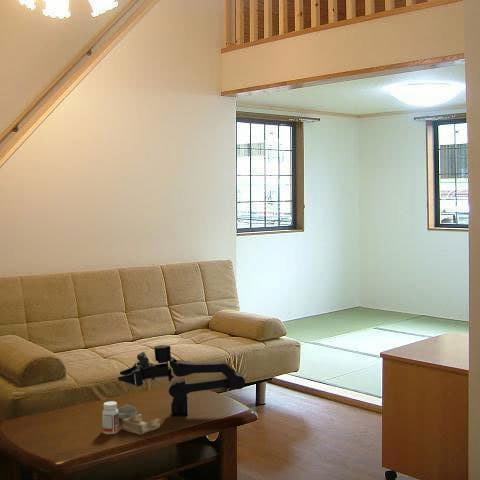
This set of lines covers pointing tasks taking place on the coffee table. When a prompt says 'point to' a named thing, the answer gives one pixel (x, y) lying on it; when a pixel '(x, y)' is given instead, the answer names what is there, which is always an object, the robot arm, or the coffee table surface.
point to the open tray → (139, 424)
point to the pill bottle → (110, 418)
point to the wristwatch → (127, 411)
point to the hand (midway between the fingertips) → (119, 375)
